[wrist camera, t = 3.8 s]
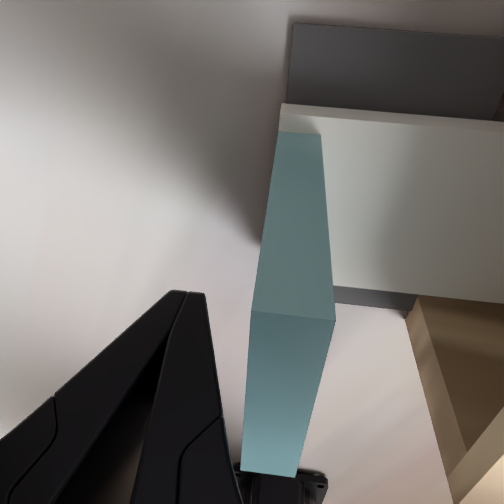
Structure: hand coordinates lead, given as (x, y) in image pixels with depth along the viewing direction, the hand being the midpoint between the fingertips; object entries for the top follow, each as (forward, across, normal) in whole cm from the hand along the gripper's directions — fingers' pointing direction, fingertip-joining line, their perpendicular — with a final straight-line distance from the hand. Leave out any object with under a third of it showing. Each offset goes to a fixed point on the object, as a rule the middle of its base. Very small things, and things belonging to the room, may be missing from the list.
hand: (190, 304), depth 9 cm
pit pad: (+6, -5, 0) cm, 8 cm away
